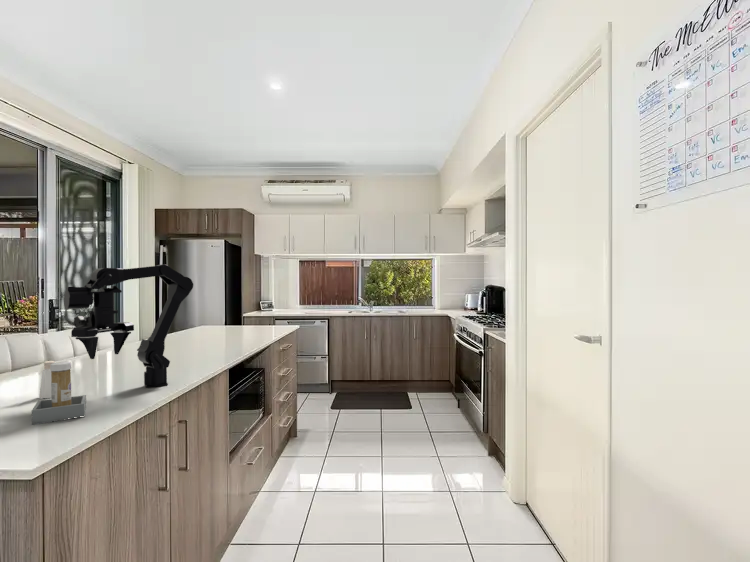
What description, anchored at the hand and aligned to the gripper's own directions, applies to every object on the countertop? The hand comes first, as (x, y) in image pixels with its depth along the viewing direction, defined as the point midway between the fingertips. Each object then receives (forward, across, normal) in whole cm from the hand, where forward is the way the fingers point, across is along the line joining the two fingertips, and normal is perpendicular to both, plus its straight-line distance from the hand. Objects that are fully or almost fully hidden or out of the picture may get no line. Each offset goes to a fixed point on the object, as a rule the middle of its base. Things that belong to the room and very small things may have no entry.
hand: (104, 356), depth 140 cm
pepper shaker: (+12, +6, -16) cm, 21 cm away
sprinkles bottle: (+12, +21, +7) cm, 25 cm away
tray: (+12, +21, +7) cm, 25 cm away
